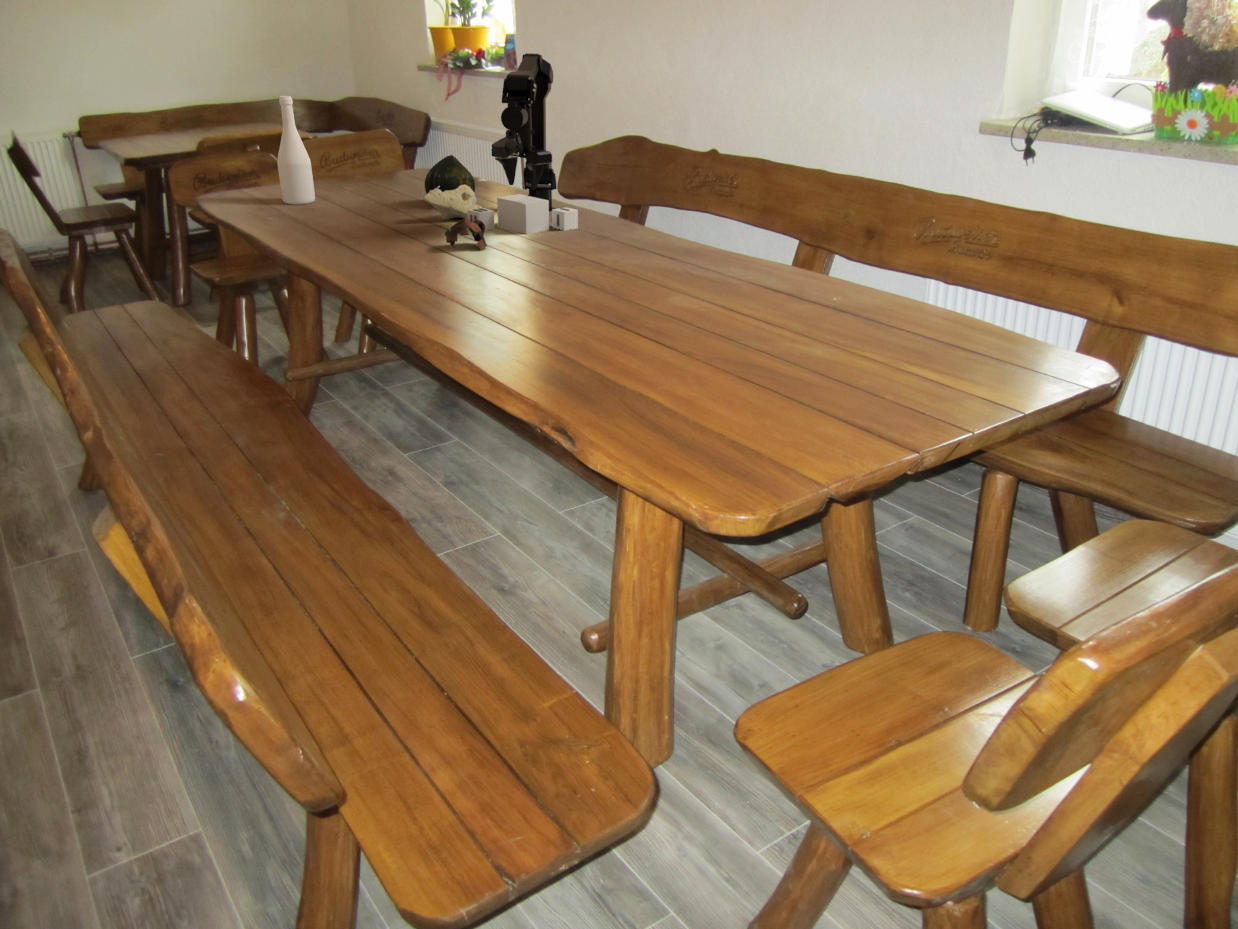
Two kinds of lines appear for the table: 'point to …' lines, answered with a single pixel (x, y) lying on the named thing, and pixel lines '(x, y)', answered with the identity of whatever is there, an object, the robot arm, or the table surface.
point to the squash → (448, 175)
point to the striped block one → (565, 218)
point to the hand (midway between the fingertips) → (522, 187)
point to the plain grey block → (523, 213)
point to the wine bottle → (293, 161)
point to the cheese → (452, 201)
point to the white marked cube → (482, 217)
